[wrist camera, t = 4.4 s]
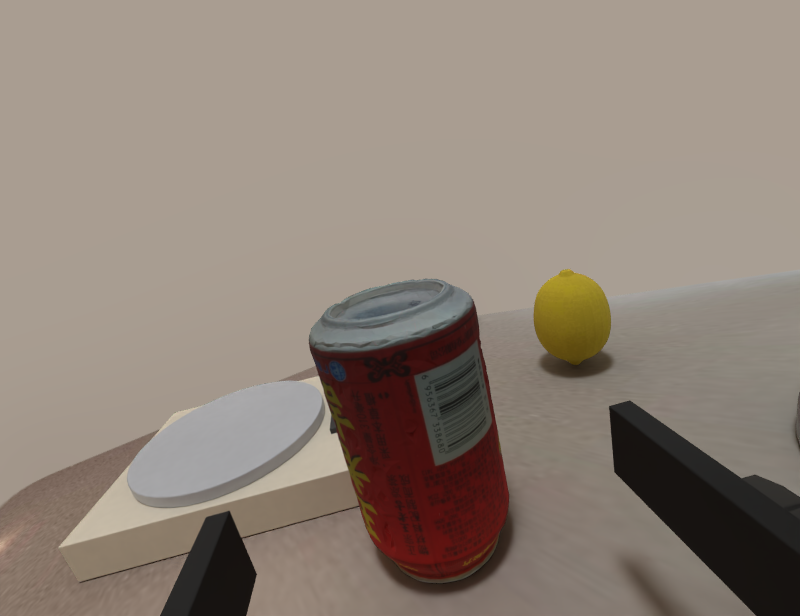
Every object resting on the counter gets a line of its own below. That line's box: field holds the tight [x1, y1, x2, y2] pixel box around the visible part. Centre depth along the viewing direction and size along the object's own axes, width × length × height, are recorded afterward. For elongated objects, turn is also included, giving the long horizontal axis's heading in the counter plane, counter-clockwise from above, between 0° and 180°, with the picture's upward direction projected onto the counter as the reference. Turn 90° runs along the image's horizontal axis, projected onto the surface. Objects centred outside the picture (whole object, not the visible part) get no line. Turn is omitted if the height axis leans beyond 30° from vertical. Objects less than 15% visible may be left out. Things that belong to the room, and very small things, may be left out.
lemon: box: [534, 269, 611, 365], centre depth 31 cm, size 6×6×8 cm
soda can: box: [309, 279, 509, 583], centre depth 18 cm, size 7×7×12 cm
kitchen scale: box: [58, 376, 359, 582], centre depth 28 cm, size 16×14×3 cm
